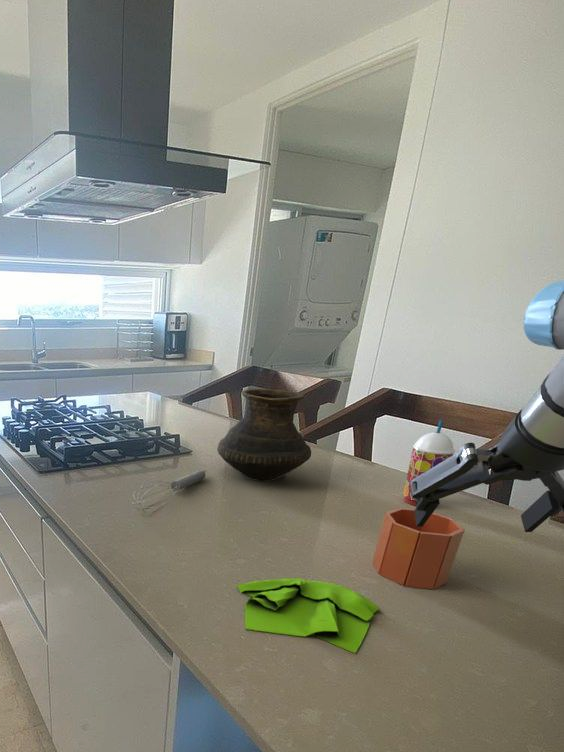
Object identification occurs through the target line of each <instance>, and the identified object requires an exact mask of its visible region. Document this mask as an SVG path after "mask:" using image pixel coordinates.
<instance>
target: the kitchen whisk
mask: <svg viewBox="0 0 564 752" xmlns="http://www.w3.org/2000/svg"><path fill="white" fill-rule="evenodd" d="M206 473H207V470H201V469H200V470H196V471H193V472H192V473H189V474H187V475H184V476H182V477H180V478H177V479H175V480H173V481H172V482H171V481H170V482H169V481H167V482H164V480H163V481H161V480H159V481H158V480H157V481H155V483H160V484H156V485H150V486H149V485H148V484H151V483H152V484H153V481H150V482H147V483H144V484H143V485H141V487H140V488H139V489H136V490H135V491H134V492H133V494H132V497H133V499H134V501H132V504H135V503H136V504H137V507H136V510H138V511H140V509H142V510H141V511H143V512H144V513H148V512H149V511H146V510H145V509H144V508H146V507H147V508H149V509H157V508H159V507H160V506H161V507H162V506H164V505H165V504H167V503H168V502H169V501H170V500H171V499H172V498H173V496H174V495H175V494H176V493H177V492H179V491H181V490H183V489H185V488H188V487H190V486H192V485H194V484H196V483H198V482H199V483H200V481H203V480H204V479H205V478H206ZM145 485H148V486H145ZM163 485H168V486H170V487H168V488H165V489H162V490H159V491H157V492H154V493H151V494H148V495H146V494H147V493H148V492H149V491H151V490H152V489H153V488H155V487H158V486H161V487H162V486H163ZM146 488H149V489H148V490H147V491H146V492H145V493H144V494H142V496H141V498H139V497H137V499H136V498H135V493H137V492H138V493H137V496H139V494H140V491H141V490H143V489H146ZM169 489H171V490H169ZM166 490H169V491H167V492H165V493H163V494H160V495H158V496H155V497H152V498H150V499H146V500H143V499H144V498H147V497H150V496H152V495H156V494H157V493H160V492H163V491H166ZM172 491H173V492H172ZM171 492H172V493H171ZM169 493H171V495H170V496H169V497H168V498H167V499H166V500H165V501H166V502H165V503H164V502H163V503H164V504H163V503H162V504H163V505H162V504H161V505H158V506H149V507H148V506H147V505H144V504H142V503H144V502H148V501H152V500H154V499H157V498H159V497H160V498H159V499H160V500H161V499H163V498H164V497H165V496H167V495H168V494H169ZM142 500H143V501H142ZM139 506H140V509H139ZM142 506H143V507H144V508H142ZM161 507H160V508H161Z"/></svg>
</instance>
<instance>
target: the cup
mask: <svg viewBox="0 0 564 752" xmlns="http://www.w3.org/2000/svg"><path fill="white" fill-rule="evenodd" d="M415 509H416V508H407V507H406V508H405V507H397V508H395V509H392V510H389V511H387V512H386V511H385V513H384V517H383V520H382V525H381V529H380V533H379V535H378V539H377V544H376V548H375V551H374V554H373V558H372V565H373V567H374V568H375V570H376V573H377V574H379V576H382V577H383V578H385V579H387V580H391V581H392V582H395V583H396V584H399V585H401V586H405V587H410V588H417V589H418V588H419V589H426V590H427V589H428V590H435V589H438V588H439V587H441V586H443V585H445V584H446V583H448V580H449V577H450V574H451V571H452V568H453V566H454V562H455V559H456V556H457V554H458V551H459V548H460V545H461V542H462V540H463V539H462V538H463V536H464V533H465V528H464V527H463V526H462V525H460V524H459V522H457V520H455V519H453V518H452V517H449V516H446V515H442V514H439V513H436V512H435V511H434V512H433V513H432V514H431V516H430V517H429V518H428V520H427V521H426V522H425V524H424V525H423V526H422V527H421V526H417V525H416V518H415V511H414V510H415Z"/></svg>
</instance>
